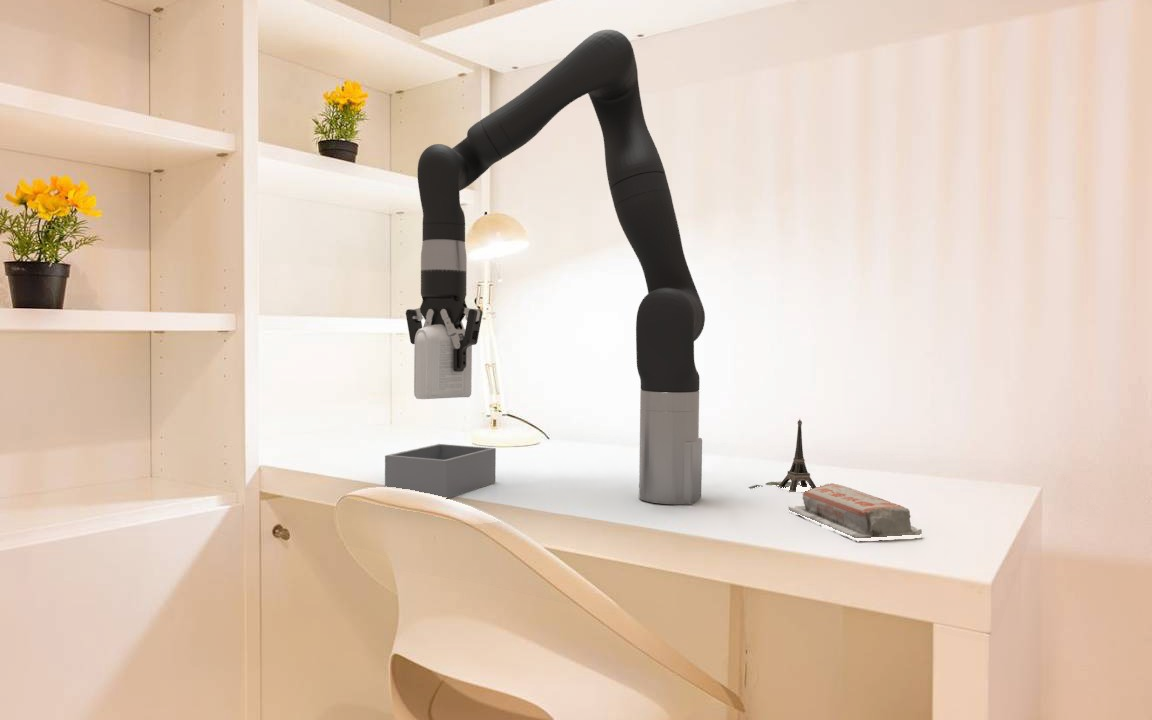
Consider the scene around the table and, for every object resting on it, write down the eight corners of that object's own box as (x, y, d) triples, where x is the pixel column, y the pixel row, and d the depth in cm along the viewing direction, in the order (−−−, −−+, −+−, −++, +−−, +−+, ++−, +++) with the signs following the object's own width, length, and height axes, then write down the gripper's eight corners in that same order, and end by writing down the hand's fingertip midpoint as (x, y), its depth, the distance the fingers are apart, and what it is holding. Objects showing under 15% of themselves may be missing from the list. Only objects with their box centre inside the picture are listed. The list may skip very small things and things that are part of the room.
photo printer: (460, 395, 140) (460, 324, 139) (475, 397, 137) (475, 324, 136) (409, 399, 132) (409, 323, 132) (425, 400, 129) (425, 323, 129)
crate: (495, 482, 140) (495, 448, 140) (445, 499, 126) (446, 460, 125) (438, 477, 144) (439, 443, 144) (384, 492, 130) (385, 455, 130)
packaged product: (926, 505, 104) (857, 508, 102) (925, 542, 104) (856, 546, 102) (847, 480, 122) (787, 482, 119) (847, 512, 122) (787, 514, 119)
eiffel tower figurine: (853, 492, 137) (855, 414, 137) (835, 502, 129) (837, 419, 128) (768, 482, 146) (770, 409, 145) (747, 491, 137) (748, 413, 137)
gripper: (492, 270, 134) (492, 371, 135) (420, 271, 140) (420, 369, 141) (469, 266, 127) (468, 373, 128) (394, 268, 133) (394, 370, 134)
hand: (443, 370), depth 134 cm, fingers closed on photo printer, 5 cm apart
